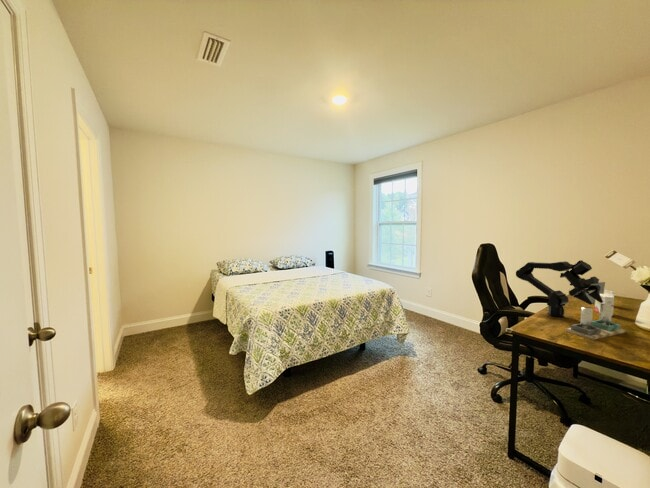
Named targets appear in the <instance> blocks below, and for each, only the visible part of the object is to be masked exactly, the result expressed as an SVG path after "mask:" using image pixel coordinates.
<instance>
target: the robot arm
mask: <svg viewBox="0 0 650 488" xmlns="http://www.w3.org/2000/svg"><path fill="white" fill-rule="evenodd" d="M535 269H542V270H543V269H545V270H552V271H556V272H560V275H559V278H565V279H566V280H567V281H568V282H569V286H573V287H572V288H571V290H570V289H569V290H568V295H570V296H571V297H573V298H576V299H578V300H580V301H581V302H584V303H586V304H588V305H590V306H591V305H593V303H592V302H591V301H590V299H589V298H588V297H587V295H586V293H588V295H589V296H591V297H592V298H594V299H595V300H597V301H598V302H600V303H603V300H602V298H601V296H600V294H599V291H600V290H601V289H600V288H601V287H600V286H599V285H591V284H598V283H599V282H598V281H600V279H599V278H598V277H596V276H591V277H590V278H584V277H581V276H584V275H585V274H587V273H588V272H589V271H592V269H593V267H592V266H591V264H589V263H587V262H586V261H584V260H582V259H581V260H578V261H577V262H576V263H574V264H571V263H570V262H569V261H556V262H555V261H554V262H534V261H531V262H530V261H529V262H527V263H526V264H524V265H523V266H521V267H519V269H517V270H515V276H516V278H518V279H519V280H522V281H525V282H527V283H529V284H530V285H532V286H533V287H535V288H536V289H538V290H539V291H541V292H542V293H543V294H544V295H545V296H547V297H548V299H549V300H548V301H546V305H547V306H548V312H547V315H549V316H550V317H555V318H565V309H564V307H565V306H566V304H568V303H569V297H568V296H567V294H566V293H564V292H563V291H562V290H554V289H552V288H551V287H550V286H548V285H546V284H545V283H543V282H542V281H541V280H539V279H538V278H536V277H535V276H534V274H533V271H534V270H535ZM589 286H590V287H589Z"/></svg>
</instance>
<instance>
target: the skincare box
mask: <svg viewBox="0 0 650 488" xmlns="http://www.w3.org/2000/svg"><path fill="white" fill-rule="evenodd" d="M598 282H599V283H598V284H591V285H599V286H600V287H601V288H600V289H601V290H600V291H599V294H604V289H605V286H606V282H605V281H600V280H599V281H598ZM589 287H590V286H589ZM586 295H587V297H588V298H589V299H590V301H591V302H592V304H594V305H595V299H594V298H592V297H591V296H589V295H588V293H586Z"/></svg>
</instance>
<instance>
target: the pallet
mask: <svg viewBox="0 0 650 488" xmlns="http://www.w3.org/2000/svg"><path fill="white" fill-rule="evenodd" d="M599 320H600V319H596V320H592V329H591V330H588V329H585V328H581V327H580V323H574V324H570V327H567V328H565V330H564V331H565V332H568V333H570V334H573V335H576V336H580V337H583V338H585V339H589V340H591V341H593V340H597V339H602V338H607V337H611V336H616V335H621V334H625V333H626V329H623V328H621V324H619V323H615V322H612V321H611V326H608V325H604V324H601V323H599Z"/></svg>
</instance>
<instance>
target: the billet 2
mask: <svg viewBox="0 0 650 488" xmlns="http://www.w3.org/2000/svg"><path fill="white" fill-rule="evenodd" d="M611 314H612V305H610V304H600V313H599V319H598V320H599V323H601V324H604V325H608V326H611V322H612V316H611Z"/></svg>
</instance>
